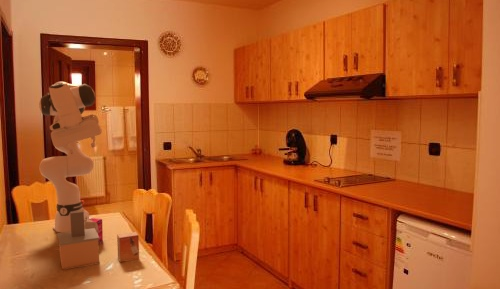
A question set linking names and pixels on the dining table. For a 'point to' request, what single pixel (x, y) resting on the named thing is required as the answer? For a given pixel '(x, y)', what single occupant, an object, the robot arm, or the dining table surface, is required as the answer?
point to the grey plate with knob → (77, 231)
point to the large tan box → (79, 254)
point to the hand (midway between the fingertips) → (83, 150)
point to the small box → (128, 246)
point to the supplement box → (97, 225)
